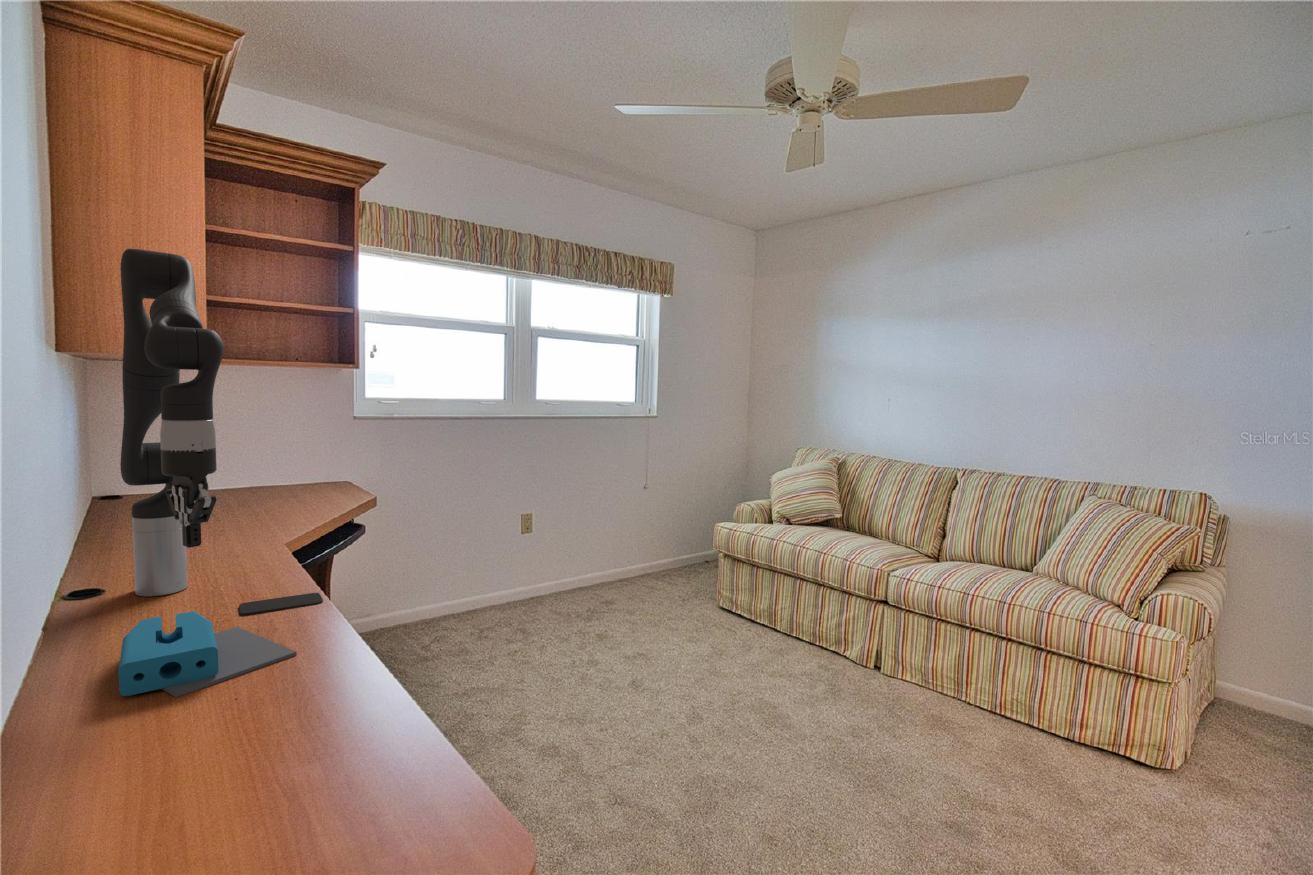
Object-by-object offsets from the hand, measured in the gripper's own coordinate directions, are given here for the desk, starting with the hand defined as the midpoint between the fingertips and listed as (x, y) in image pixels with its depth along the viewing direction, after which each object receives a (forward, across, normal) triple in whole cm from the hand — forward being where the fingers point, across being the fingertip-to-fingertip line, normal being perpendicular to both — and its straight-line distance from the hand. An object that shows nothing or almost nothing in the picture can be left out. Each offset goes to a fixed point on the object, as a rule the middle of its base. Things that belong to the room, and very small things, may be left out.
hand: (192, 546), depth 107 cm
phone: (+20, -12, +21) cm, 31 cm away
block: (+16, -7, -1) cm, 17 cm away
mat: (+19, +5, 0) cm, 20 cm away
